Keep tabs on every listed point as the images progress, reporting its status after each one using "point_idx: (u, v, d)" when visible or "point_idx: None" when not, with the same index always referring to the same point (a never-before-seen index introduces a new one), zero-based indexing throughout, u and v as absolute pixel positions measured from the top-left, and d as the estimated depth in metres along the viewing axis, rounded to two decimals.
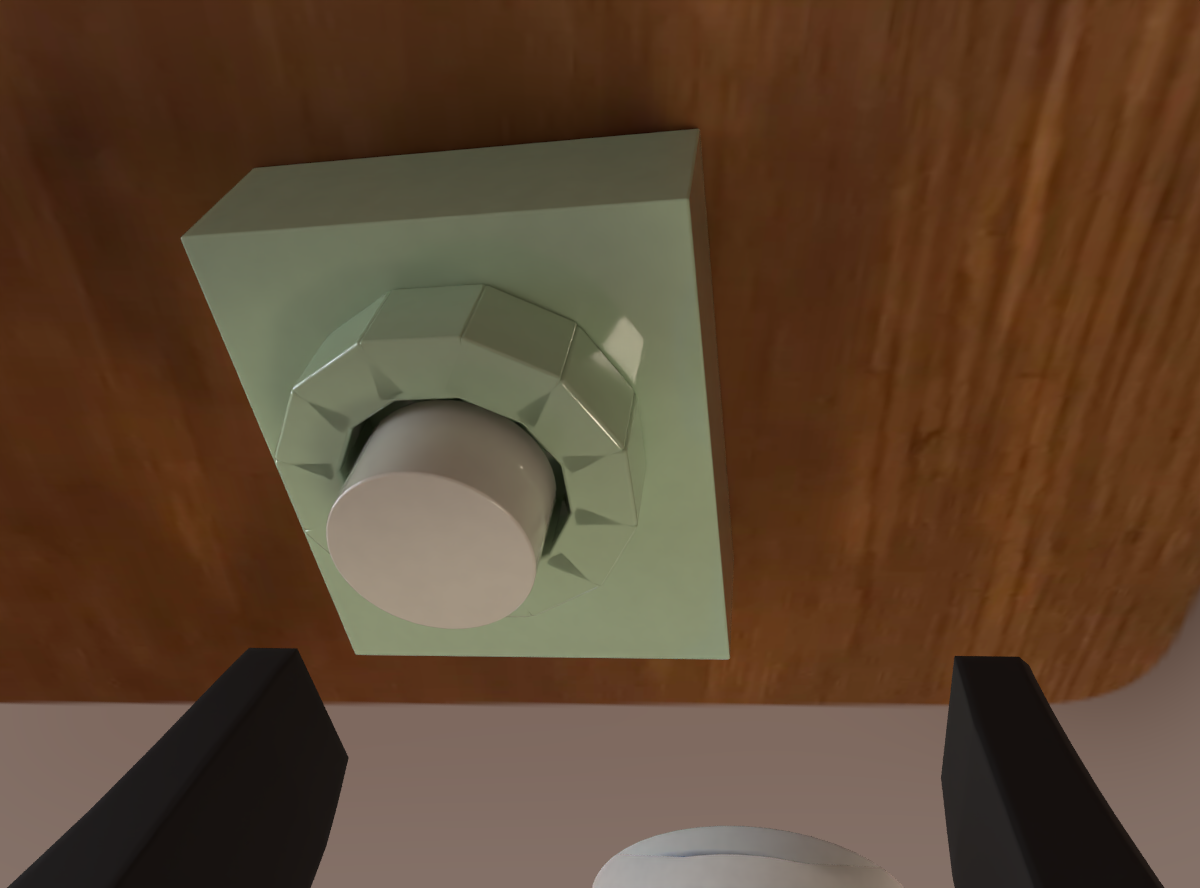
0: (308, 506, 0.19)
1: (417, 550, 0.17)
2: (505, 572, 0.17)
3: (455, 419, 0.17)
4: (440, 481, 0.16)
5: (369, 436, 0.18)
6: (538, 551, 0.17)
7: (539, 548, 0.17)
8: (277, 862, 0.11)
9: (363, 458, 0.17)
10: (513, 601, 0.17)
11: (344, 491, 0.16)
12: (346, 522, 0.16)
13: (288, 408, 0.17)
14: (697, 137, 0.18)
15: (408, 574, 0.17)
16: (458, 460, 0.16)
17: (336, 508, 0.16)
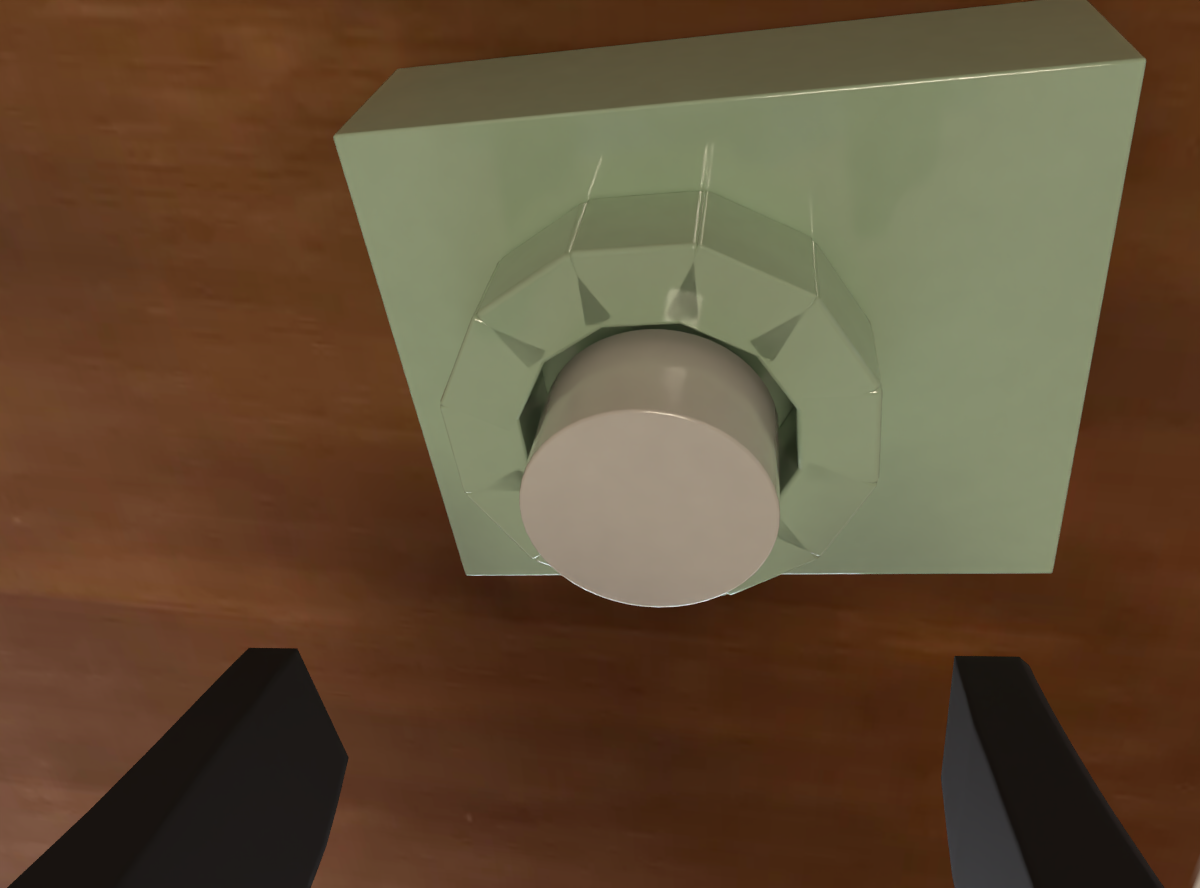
0: None
1: (638, 527, 0.14)
2: (665, 445, 0.13)
3: None
4: (526, 487, 0.14)
5: None
6: (647, 397, 0.13)
7: (648, 394, 0.13)
8: (277, 862, 0.11)
9: None
10: (720, 442, 0.13)
11: (561, 573, 0.15)
12: (603, 582, 0.14)
13: None
14: (389, 77, 0.17)
15: (680, 543, 0.14)
16: (529, 455, 0.14)
17: (584, 586, 0.15)
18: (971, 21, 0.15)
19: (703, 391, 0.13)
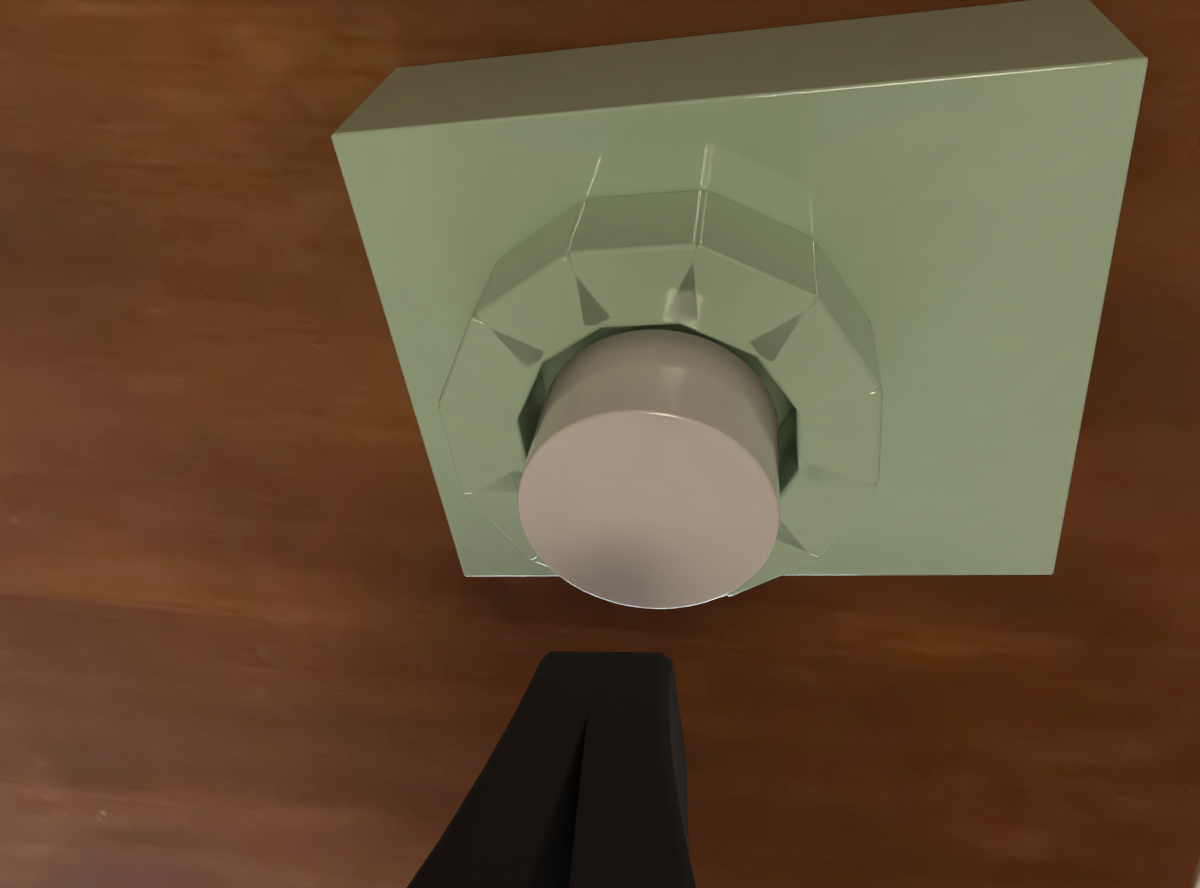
0: None
1: (637, 529, 0.14)
2: (664, 446, 0.13)
3: None
4: (524, 488, 0.14)
5: None
6: (646, 398, 0.13)
7: (647, 395, 0.13)
8: None
9: None
10: (720, 443, 0.13)
11: (560, 574, 0.15)
12: (602, 584, 0.14)
13: None
14: (387, 76, 0.17)
15: (679, 544, 0.14)
16: (527, 456, 0.14)
17: (583, 587, 0.15)
18: (972, 20, 0.15)
19: (702, 392, 0.13)
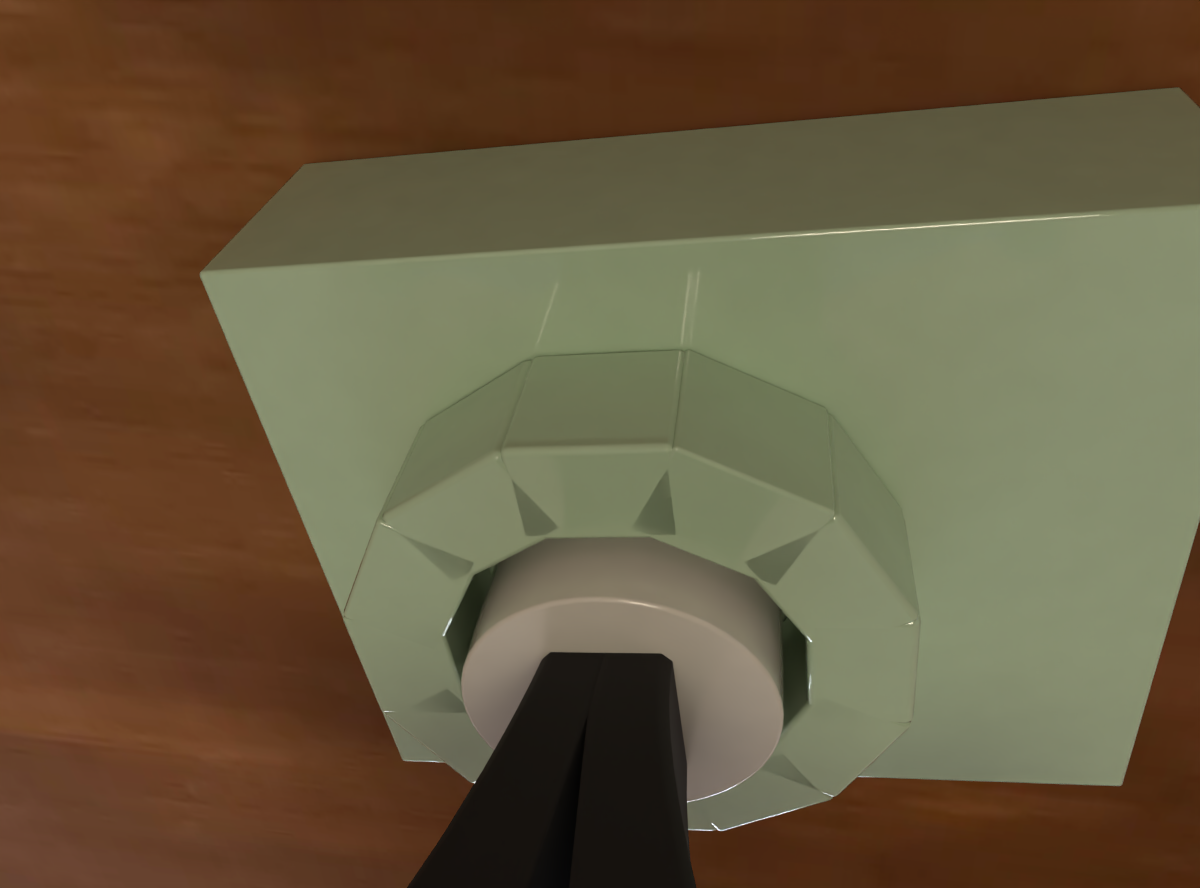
0: None
1: None
2: (639, 637, 0.10)
3: None
4: (468, 675, 0.11)
5: None
6: (616, 579, 0.10)
7: (618, 573, 0.10)
8: None
9: None
10: (709, 637, 0.10)
11: None
12: None
13: None
14: (292, 177, 0.13)
15: None
16: None
17: None
18: (1036, 123, 0.11)
19: (688, 566, 0.10)
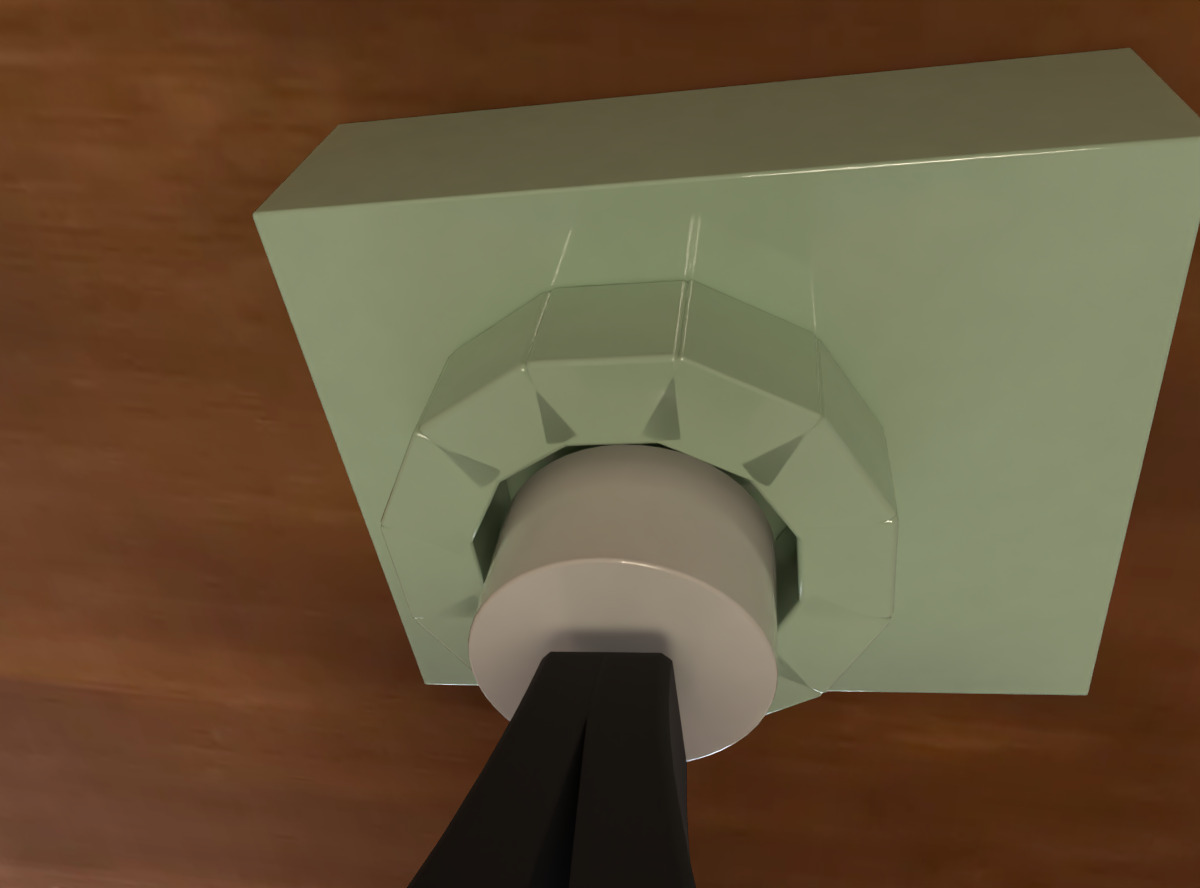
0: None
1: None
2: (640, 598, 0.11)
3: None
4: (475, 638, 0.11)
5: None
6: (618, 542, 0.11)
7: (619, 537, 0.11)
8: None
9: None
10: (706, 597, 0.11)
11: None
12: None
13: None
14: (328, 135, 0.14)
15: None
16: (480, 597, 0.12)
17: None
18: (1001, 79, 0.12)
19: (685, 530, 0.11)
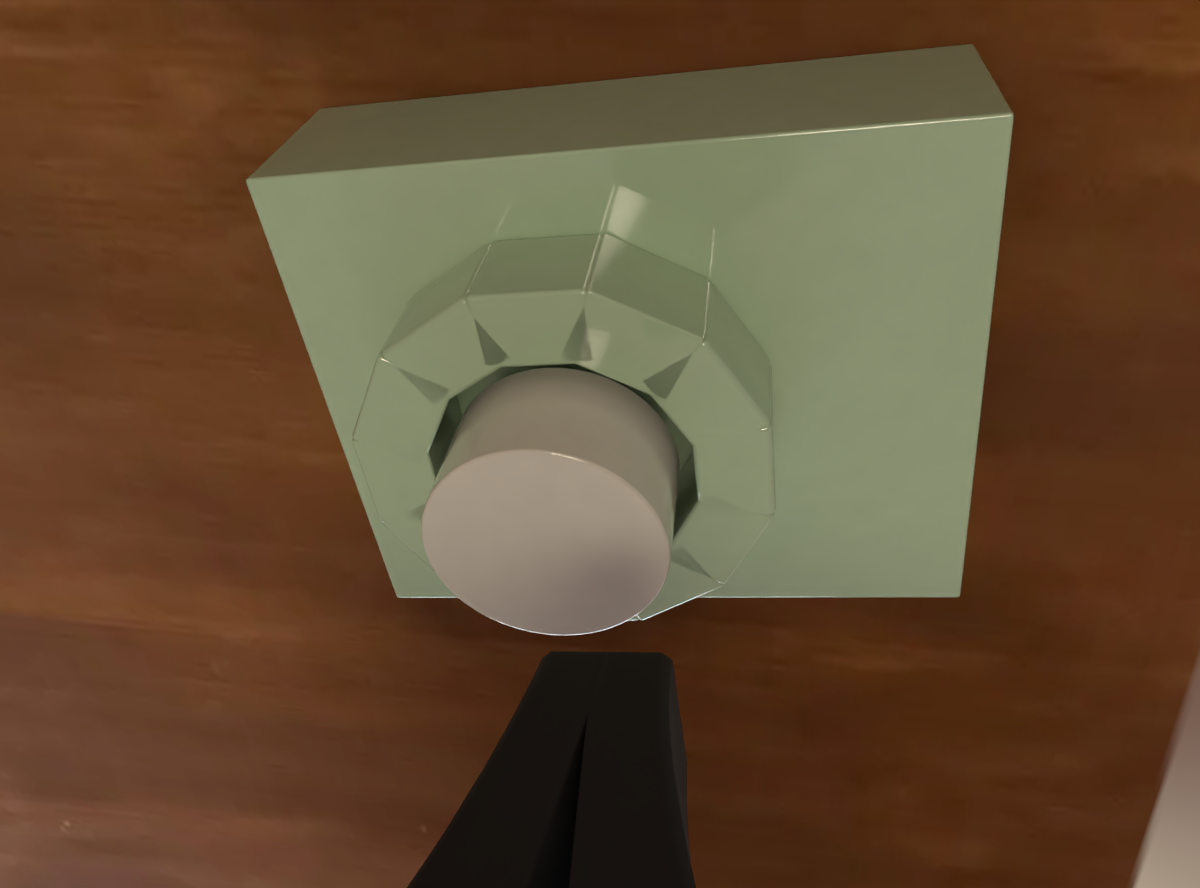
0: None
1: (536, 560, 0.14)
2: (555, 483, 0.13)
3: None
4: (426, 522, 0.14)
5: None
6: (537, 437, 0.13)
7: (539, 434, 0.13)
8: None
9: None
10: (607, 481, 0.13)
11: (467, 602, 0.15)
12: (507, 611, 0.15)
13: None
14: (310, 117, 0.17)
15: (577, 575, 0.14)
16: None
17: (489, 615, 0.15)
18: (863, 69, 0.15)
19: (594, 430, 0.14)
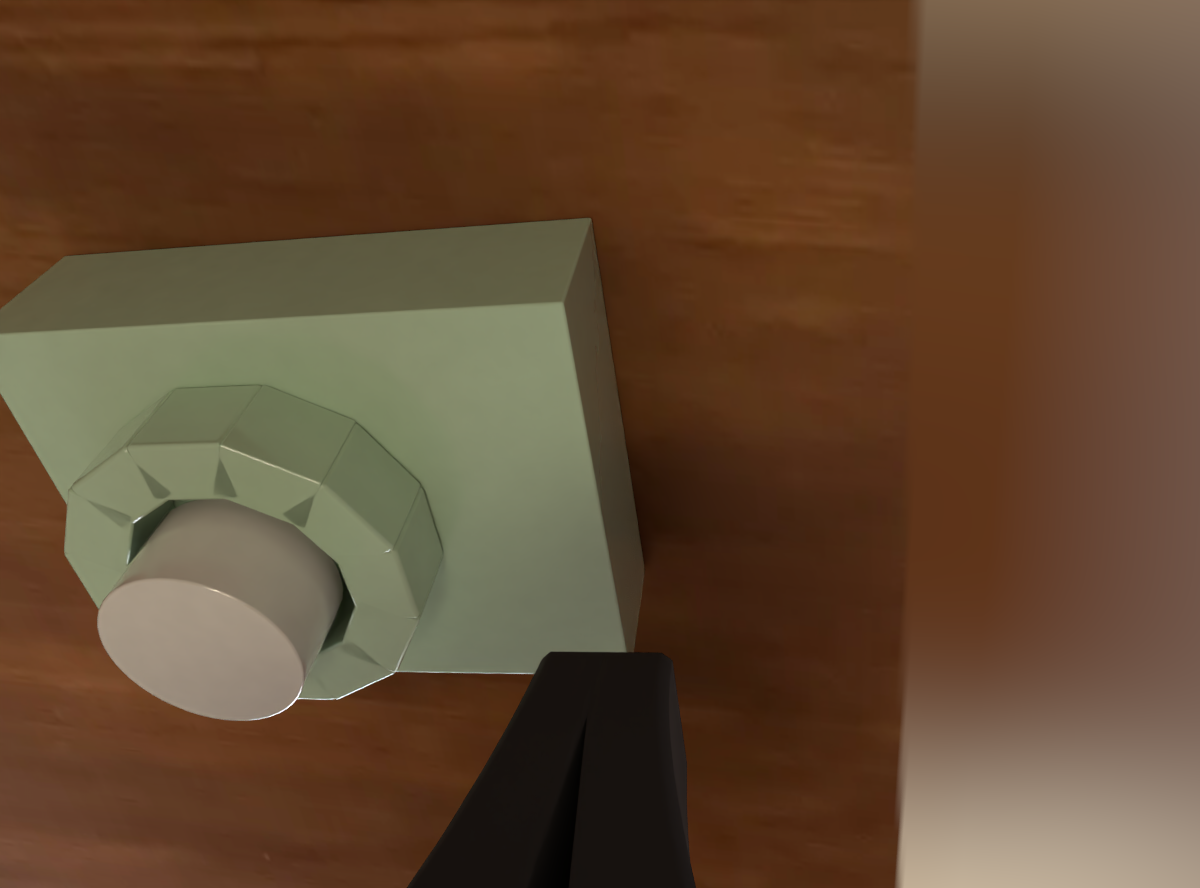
0: (302, 690, 0.20)
1: (196, 662, 0.17)
2: (192, 604, 0.16)
3: None
4: (101, 631, 0.17)
5: None
6: (176, 567, 0.16)
7: (179, 564, 0.16)
8: None
9: None
10: (233, 603, 0.16)
11: (154, 693, 0.18)
12: (186, 701, 0.18)
13: None
14: (53, 266, 0.20)
15: (232, 674, 0.17)
16: None
17: (173, 703, 0.18)
18: (491, 242, 0.18)
19: (230, 559, 0.16)
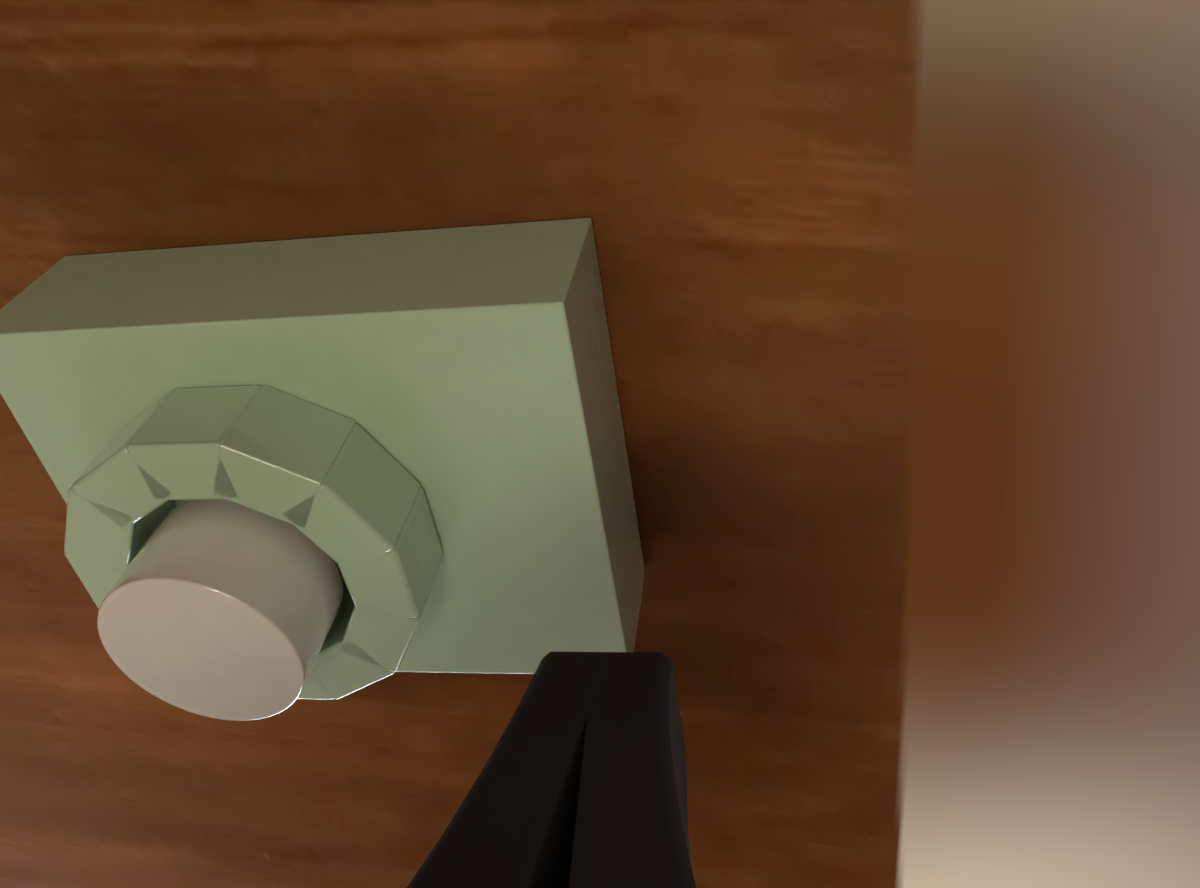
0: (302, 690, 0.20)
1: (196, 662, 0.17)
2: (192, 604, 0.16)
3: None
4: (101, 631, 0.17)
5: None
6: (176, 567, 0.16)
7: (179, 564, 0.16)
8: None
9: None
10: (233, 603, 0.16)
11: (154, 693, 0.18)
12: (186, 701, 0.18)
13: None
14: (53, 266, 0.20)
15: (232, 674, 0.17)
16: None
17: (173, 703, 0.18)
18: (491, 242, 0.18)
19: (230, 559, 0.16)
